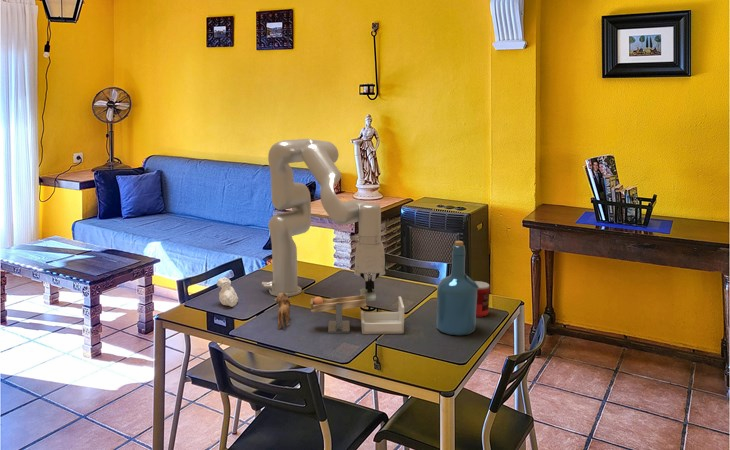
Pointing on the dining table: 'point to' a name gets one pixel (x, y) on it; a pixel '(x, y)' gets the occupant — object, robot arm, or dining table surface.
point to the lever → (345, 301)
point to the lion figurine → (283, 309)
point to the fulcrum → (338, 322)
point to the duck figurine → (227, 292)
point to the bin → (383, 321)
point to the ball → (318, 301)
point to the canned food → (482, 299)
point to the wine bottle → (457, 298)
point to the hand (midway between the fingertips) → (369, 291)
